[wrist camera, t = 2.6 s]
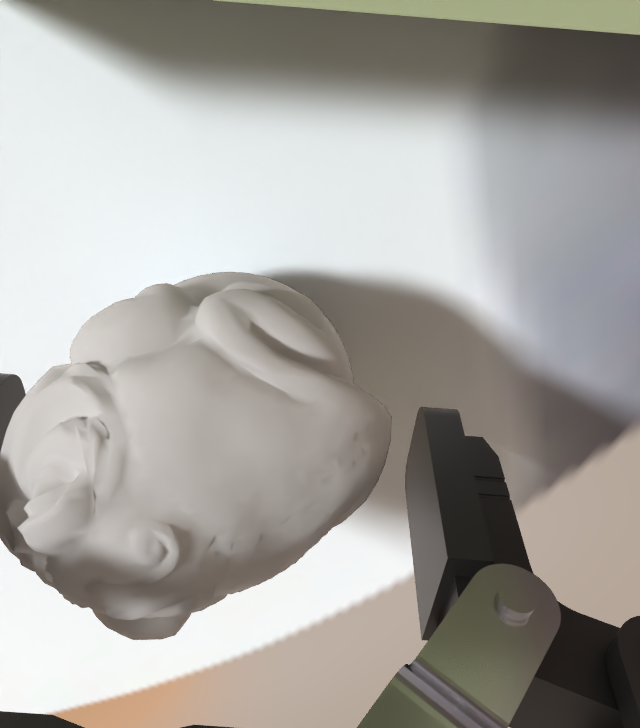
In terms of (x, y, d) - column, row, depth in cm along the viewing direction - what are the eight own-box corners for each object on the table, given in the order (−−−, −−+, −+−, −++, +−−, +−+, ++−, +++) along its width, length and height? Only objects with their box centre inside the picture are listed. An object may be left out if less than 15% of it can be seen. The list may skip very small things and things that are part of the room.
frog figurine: (40, 258, 13) (-182, 504, 8) (342, 167, 12) (341, 385, 6) (163, 447, 17) (71, 713, 11) (408, 394, 15) (446, 667, 10)
